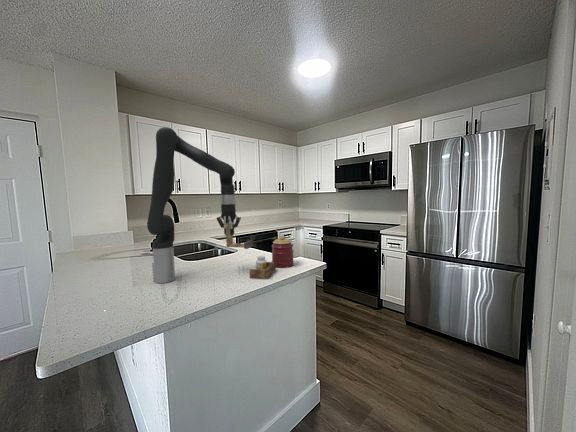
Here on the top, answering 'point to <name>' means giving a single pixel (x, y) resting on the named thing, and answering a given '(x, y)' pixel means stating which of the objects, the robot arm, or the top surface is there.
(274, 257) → the canister
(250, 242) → the wooden l-shaped bracket
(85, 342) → the top surface
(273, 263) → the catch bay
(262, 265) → the supplement bottle
